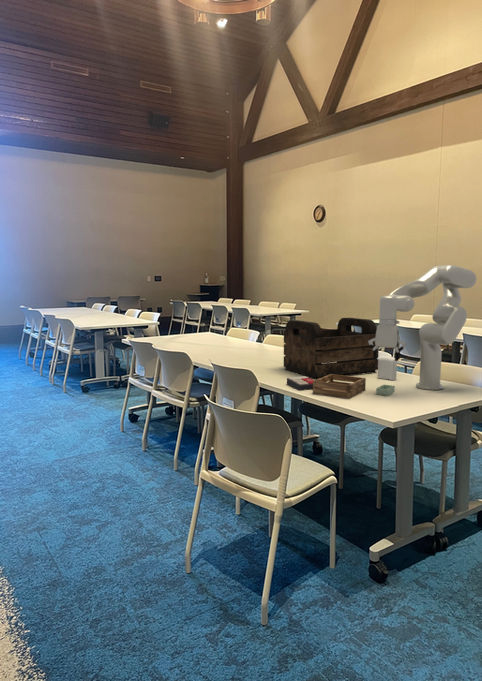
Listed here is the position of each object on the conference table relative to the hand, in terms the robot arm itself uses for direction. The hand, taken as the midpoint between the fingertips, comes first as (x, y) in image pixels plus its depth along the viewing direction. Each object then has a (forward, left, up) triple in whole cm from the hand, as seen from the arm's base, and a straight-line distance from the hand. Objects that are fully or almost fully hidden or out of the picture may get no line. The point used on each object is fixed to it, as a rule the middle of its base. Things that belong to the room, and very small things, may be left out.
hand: (386, 359), depth 221 cm
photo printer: (-33, -10, -16) cm, 38 cm away
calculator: (+8, -39, -17) cm, 43 cm away
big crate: (+9, -19, -16) cm, 26 cm away
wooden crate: (-37, -45, -16) cm, 60 cm away
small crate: (0, 0, -16) cm, 16 cm away
